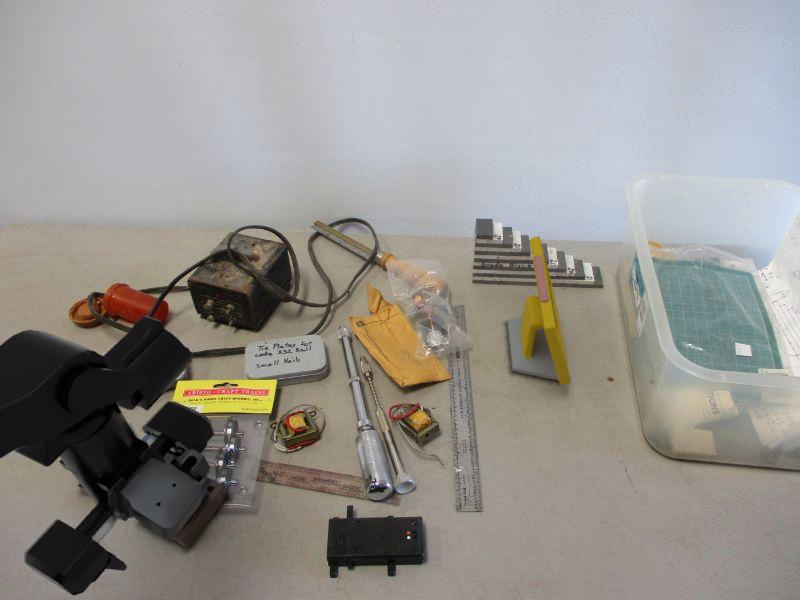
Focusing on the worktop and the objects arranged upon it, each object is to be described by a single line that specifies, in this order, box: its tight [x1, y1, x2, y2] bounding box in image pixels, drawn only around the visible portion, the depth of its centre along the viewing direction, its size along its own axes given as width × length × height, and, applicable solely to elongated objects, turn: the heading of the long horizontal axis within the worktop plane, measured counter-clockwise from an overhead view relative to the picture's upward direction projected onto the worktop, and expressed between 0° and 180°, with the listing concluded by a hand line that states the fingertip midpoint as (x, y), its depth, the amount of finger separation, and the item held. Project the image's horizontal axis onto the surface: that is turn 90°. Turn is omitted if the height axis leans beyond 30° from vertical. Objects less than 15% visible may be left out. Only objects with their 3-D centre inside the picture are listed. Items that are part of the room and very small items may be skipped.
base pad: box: [170, 478, 228, 548], centre depth 76 cm, size 8×8×3 cm
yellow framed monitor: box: [507, 236, 572, 386], centre depth 91 cm, size 20×8×16 cm, turn 176°
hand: (154, 527), depth 62 cm, fingers open, 9 cm apart
